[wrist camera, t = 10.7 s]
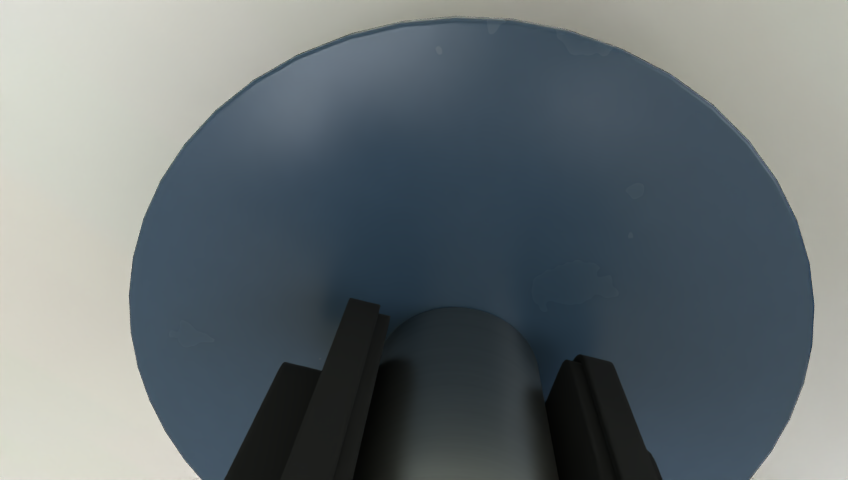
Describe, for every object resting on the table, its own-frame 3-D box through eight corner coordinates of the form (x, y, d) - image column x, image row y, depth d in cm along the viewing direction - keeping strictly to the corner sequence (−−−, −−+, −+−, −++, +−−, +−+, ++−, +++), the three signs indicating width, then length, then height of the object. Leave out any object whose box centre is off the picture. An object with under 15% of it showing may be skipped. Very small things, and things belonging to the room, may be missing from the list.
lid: (177, -76, 9) (-331, -189, 3) (921, 122, 9) (1624, 331, 4) (148, 483, 14) (-69, 820, 8) (630, 595, 14) (737, 989, 9)
